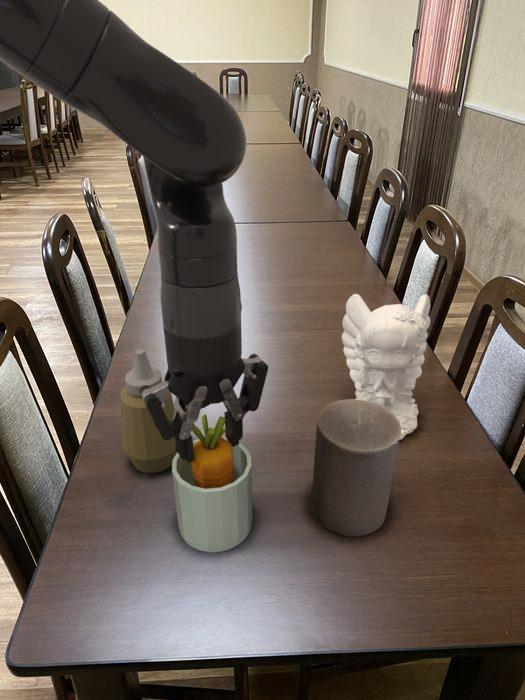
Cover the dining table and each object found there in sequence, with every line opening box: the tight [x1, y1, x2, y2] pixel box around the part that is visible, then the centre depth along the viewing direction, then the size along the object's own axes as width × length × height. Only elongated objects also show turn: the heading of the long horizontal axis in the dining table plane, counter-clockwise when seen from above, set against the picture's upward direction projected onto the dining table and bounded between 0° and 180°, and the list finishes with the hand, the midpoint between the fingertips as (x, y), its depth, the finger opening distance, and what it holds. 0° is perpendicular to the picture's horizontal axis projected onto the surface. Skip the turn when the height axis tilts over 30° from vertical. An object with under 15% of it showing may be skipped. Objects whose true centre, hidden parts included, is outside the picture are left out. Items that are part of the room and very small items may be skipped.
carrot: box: [191, 413, 233, 489], centre depth 62 cm, size 5×5×15 cm
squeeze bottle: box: [119, 348, 177, 474], centre depth 71 cm, size 8×8×18 cm
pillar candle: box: [310, 398, 401, 538], centre depth 65 cm, size 10×10×15 cm
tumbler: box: [171, 436, 253, 553], centre depth 64 cm, size 9×9×10 cm
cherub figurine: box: [341, 293, 431, 441], centre depth 80 cm, size 13×12×20 cm
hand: (210, 449), depth 60 cm, fingers closed on carrot, 5 cm apart
